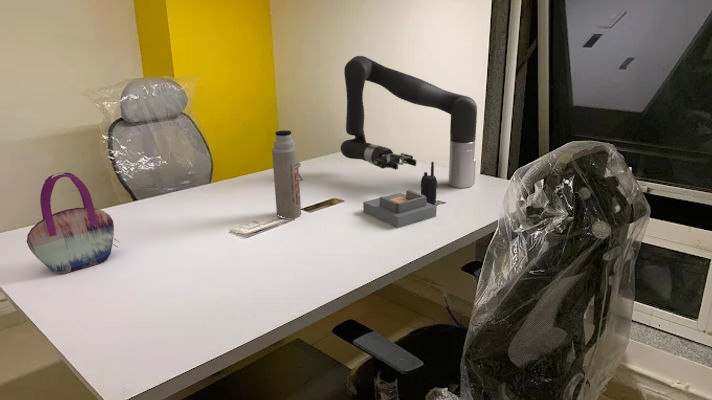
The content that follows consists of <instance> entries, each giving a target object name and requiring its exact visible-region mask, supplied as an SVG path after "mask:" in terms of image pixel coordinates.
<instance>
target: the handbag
mask: <svg viewBox="0 0 712 400" xmlns="http://www.w3.org/2000/svg"><path fill="white" fill-rule="evenodd" d="M61 178H69V179H70V180H71V181H72V183H73V184H74V185H75V187H76V188H77V190H78V192H79V194H80V197H81V201H82V205H83V207H75V208H68V209H64V210H62V211H61V210H60V211H58V212H55V213H52V205H51V199H52V194H53V190H54V188H55V187H54V186H56V182H57V181H58V180H60V179H61ZM39 201H40V209H41V210H40V211H41V215H42V220H40V221H38V222H37V223H36V224H35V225H33V227H31V228H30V230H29V232H28V233H27V236H26V243H27V246H28V248H29V250H30V251H31V253H32V254H33V255H34V256H35V257H36V258H37V260H39V261H40V262H41V263H42V264H43V265H44V266H45V267H46V268H47V269H49V270H51V271H52V272H55V273H56V274H59V275H60V274H68V273H72V272H76V271H78V270H83V269H85V268H89V267H92V266H96V265H99V264H102V263H104V262H106V261H108V258H109V257H110V255H111V253H112V248H113V246H114V247H116V248H118V245H116V244H114V240H115V241H116V242H118V243H120V241H119V240H118V239H116V238H114V235H115V226H114V225H115V224H114V220H113V218H112V217H111V215H110V214H108V213H107V212H105V211H103V210H101V209H98V208H95V206H94V203H93V200H92V196H91V194H90V191H89V189H88V187H87V186H86V185H85V183H84V182H83V181H82V180H81V179H80V178H79V177H77V176H76V175H75V174H73V173H71V172H63V173H60V172H57V173H56V174H52V175H49V176H48V177H47V178H46V179H45V181H44V183H43V184H42V188H41V191H40V197H39Z"/></svg>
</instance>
